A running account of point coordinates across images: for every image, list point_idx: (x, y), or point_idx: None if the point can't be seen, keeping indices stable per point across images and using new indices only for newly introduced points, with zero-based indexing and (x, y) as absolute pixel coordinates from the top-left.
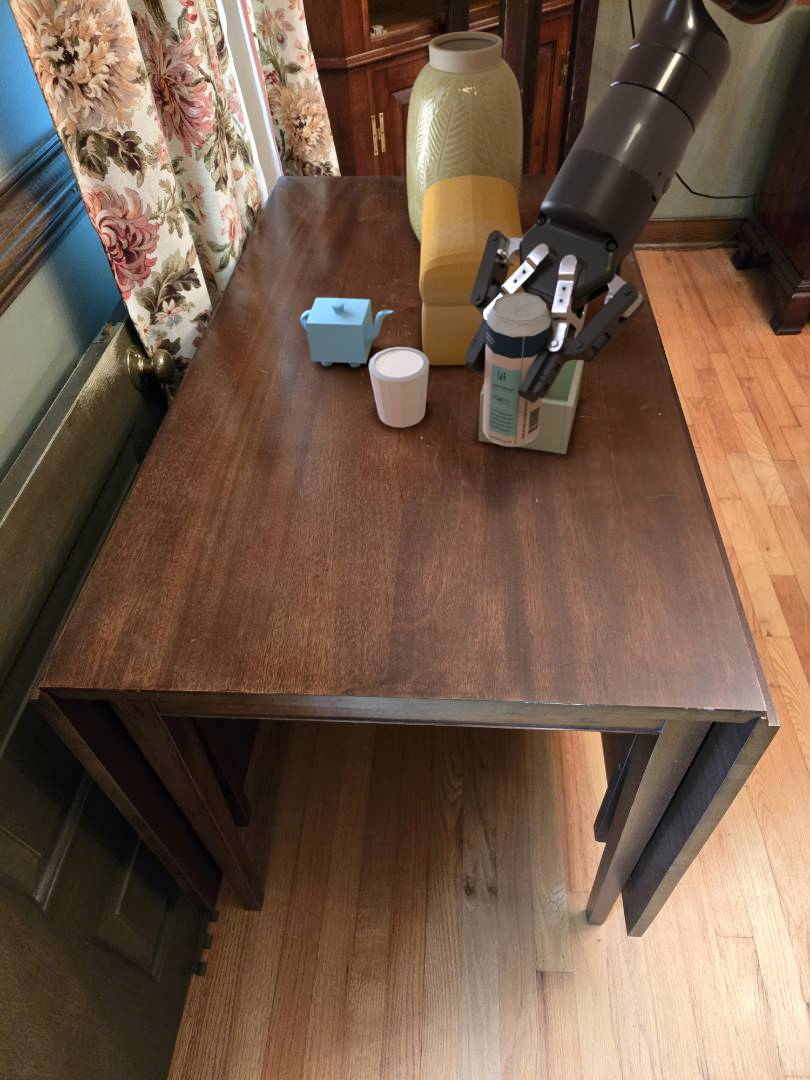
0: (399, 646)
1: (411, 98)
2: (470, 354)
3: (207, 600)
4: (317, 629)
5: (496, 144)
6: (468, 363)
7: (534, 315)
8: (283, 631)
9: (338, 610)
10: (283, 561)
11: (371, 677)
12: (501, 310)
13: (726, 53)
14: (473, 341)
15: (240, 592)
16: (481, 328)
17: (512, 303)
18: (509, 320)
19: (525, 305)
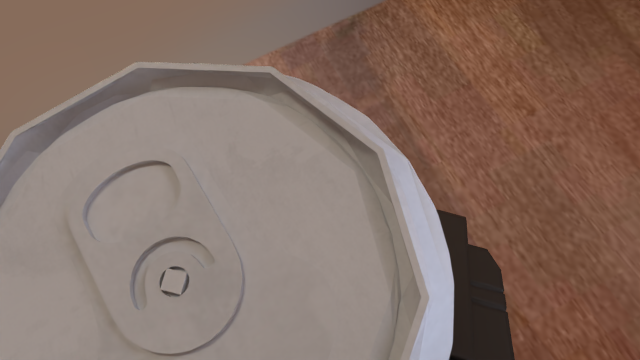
0: (361, 73)
1: None
2: (463, 235)
3: (631, 13)
4: (470, 45)
5: None
6: (450, 214)
7: (18, 220)
8: (506, 23)
9: (465, 80)
10: (594, 112)
11: (368, 23)
12: (308, 176)
13: None
14: (495, 301)
15: (603, 42)
16: (496, 358)
17: (261, 321)
18: (187, 67)
19: (134, 337)
